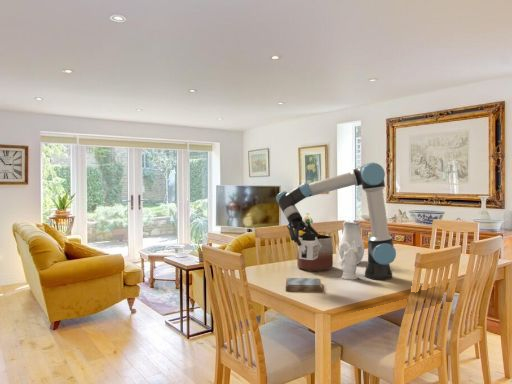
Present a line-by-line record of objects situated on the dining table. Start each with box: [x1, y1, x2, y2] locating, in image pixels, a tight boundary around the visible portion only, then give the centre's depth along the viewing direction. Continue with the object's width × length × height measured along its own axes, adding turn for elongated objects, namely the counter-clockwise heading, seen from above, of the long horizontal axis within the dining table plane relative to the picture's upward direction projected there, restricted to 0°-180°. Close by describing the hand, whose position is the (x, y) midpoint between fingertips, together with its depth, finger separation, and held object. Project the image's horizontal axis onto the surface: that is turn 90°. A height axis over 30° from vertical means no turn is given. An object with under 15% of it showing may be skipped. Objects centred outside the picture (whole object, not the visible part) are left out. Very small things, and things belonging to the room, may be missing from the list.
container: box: [299, 232, 318, 260], centre depth 203 cm, size 8×8×13 cm
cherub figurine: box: [339, 241, 362, 280], centre depth 224 cm, size 12×12×22 cm
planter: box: [296, 233, 334, 272], centre depth 249 cm, size 22×22×20 cm
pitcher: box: [338, 219, 365, 264], centre depth 270 cm, size 24×17×28 cm
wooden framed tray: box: [285, 277, 323, 293], centre depth 204 cm, size 18×16×3 cm
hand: (312, 249), depth 201 cm, fingers closed on container, 10 cm apart
